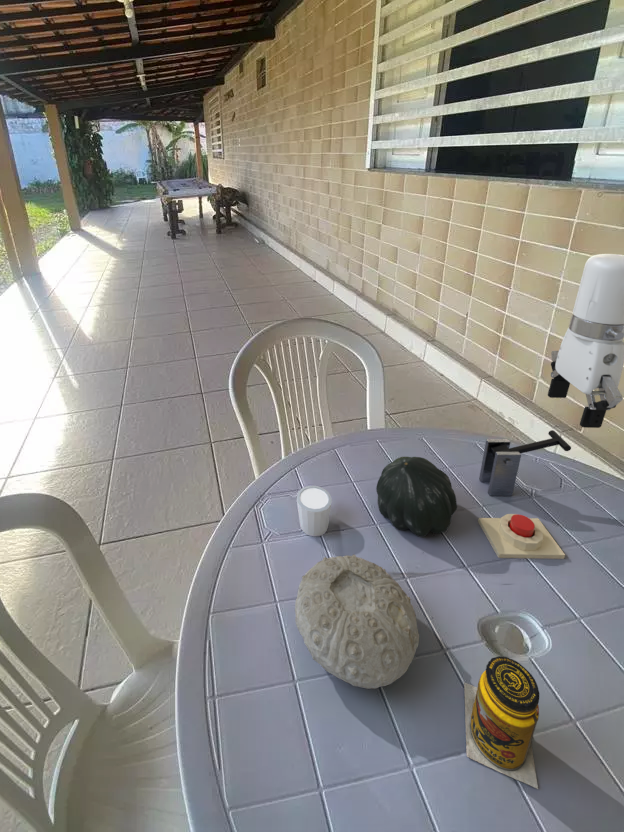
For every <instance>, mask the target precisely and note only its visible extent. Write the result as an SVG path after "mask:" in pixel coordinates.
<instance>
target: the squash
mask: <svg viewBox="0 0 624 832" xmlns="http://www.w3.org/2000/svg"><path fill="white" fill-rule="evenodd" d="M375 490H376V493H377V507H378V512H379V513H380V515H381V516H383V517H384V518H386V519H388V520H389V522H390V523H391V524H392V527H394V528H395V529H397V530H399V531H401V530H402V531H404V530H405V531H406V530H410V532H411V533H412V534H414V535H415V536H417V537H420V538H424V537H426V536H427V535H428V534H429V533H430V532H431V533H434V534H438V535H439V534H442V533H444V532H445V531H447V530H448V528H449V527H450V525H451V522H452V517H453V515H454V513H455V512H456V510H457V509H458V502H457V497H456V493H455V491H454V489H453V485H452V482H451V480H450V477H449V476H448V474H446V472H444V471H443V470H442V469H439V468H438V467H437V466H436V465H435V464H434V463H432V462H431V461H430V460H428V459H427V458H424V457H420V456H400V457H398V458H396V459H394V460H392V461H391V462H389V463H387V464H386V465H385V466H384V467H383V469H382V471H381V475H380V476H379V478H378V480H377V483H376V487H375Z"/></svg>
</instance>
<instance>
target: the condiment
mask: <svg viewBox="0 0 624 832" xmlns="http://www.w3.org/2000/svg"><path fill="white" fill-rule="evenodd" d="M463 687H464V688H463V689H464V720H465V721H464V722H465V724H464V725H465V743H466V744H465V749H466V750H465V753H466V757H467V758H469V759H471V760H473V761H475V762H477V763H479V764H482V765H483V766H485V767H487V768H490V769H492V770H494V771H496V772H497V773H501V774H503V775H505V776H507V777H510V778H511V779H514V780H516V781H518V782H522V783H524V784H525V785H527V786H530V787H532V788H534V789H536V790H539V786H538V780H537V778H538V777H537V772H536V764H535V759H534V751H533V744H532V739H533V737H534V733H535V730H536V727H537V724H538V721H539V717H540V708H539V703H540V690H539V686H538V683H537V681H536V679H535V677H534V676H533V674H532V673H530V671H529V670H528V669H527V668H526V667H525V666H523V665H522V664H521V663H520V662H518V661H517V660H515V659H512V658H510V657H508V656H499V655H498V656H495V657H492V658H491V659H490V660H489V661H488V662H487V664H486V667H485V670H484V671H482V673H481V675H480V677H479V680H478V683H477V686H474V685H472V684H470V683H467V682H463Z"/></svg>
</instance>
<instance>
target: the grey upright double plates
mask: <svg viewBox="0 0 624 832" xmlns="http://www.w3.org/2000/svg"><path fill="white" fill-rule="evenodd" d="M501 445H506V446H507V447H508V448H511V447H510V446H511V441H510V440H509V439H508V438H505V439H504V438H492V439H491V438H490V439H489V438H486V439H485V445H484V450H483V454H482V455H483V456H482V460H481V465H480V466H481V467H480V472H479V477H478V480H479V482H480V483H489V485H488V489H487V494H488V495H489V497H513V494H514V489H515V485H516V479H517V477H518V476H517V475H518V471H519V466H520V463H521V459H522V458H521V457H522V453H521V454H520V453H519V452H496V453H495V458H494V457H493V454H492V449H491V448H492V447H496V446H501Z"/></svg>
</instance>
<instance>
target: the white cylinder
mask: <svg viewBox="0 0 624 832" xmlns="http://www.w3.org/2000/svg"><path fill="white" fill-rule="evenodd" d="M332 503H333V498H332V496H331V493H330V492H329V491H328V490H327V489H326V488H323V487H322V486H317V485H307V486H304V487H302V488H300V490H299V491H297V494H296V505H297V511H298V520H299V521H298V522H299V527H300V529H301V531H302V532H303V533H304V534H306V535H307V536H311V537H321V536H323V535H325V534H326V533H327V532H328V528H329V525H330V524H329V523H330V517H331V516H330V515H331V510H332Z"/></svg>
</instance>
